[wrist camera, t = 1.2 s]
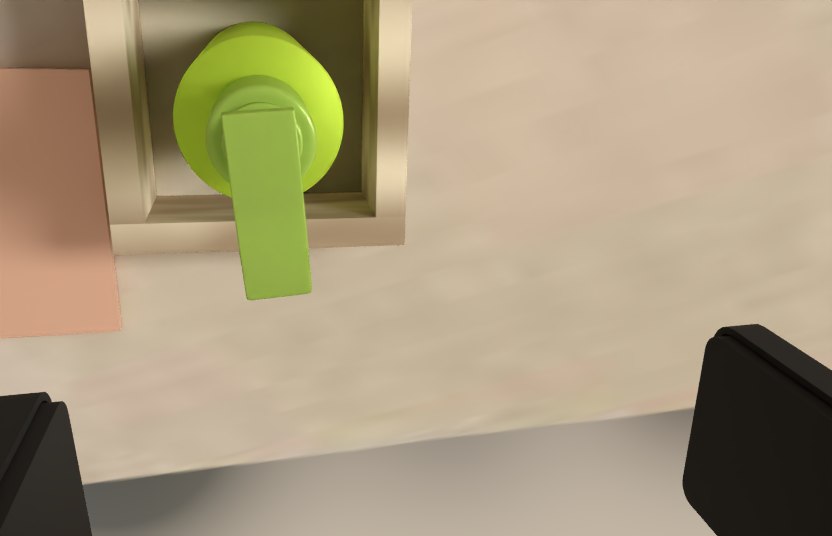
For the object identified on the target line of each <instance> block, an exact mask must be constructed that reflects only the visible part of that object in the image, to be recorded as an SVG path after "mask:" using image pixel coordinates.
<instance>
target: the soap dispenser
mask: <svg viewBox="0 0 832 536" xmlns="http://www.w3.org/2000/svg"><path fill="white" fill-rule="evenodd" d="M173 125H174V131H175V136H176V139H177V143H178V145H179V148H180V150H181V152H182V154H183V156H184V158H185V160H186V161H187V163H188V164H189V166H190V167H191V169H192V170H193V171H194V172H195V173H196V174H197V175H198V177H199V178H201V179H202V180H203V181H204V182H205V183H206V184H208V185H209V186H210V187H212V188H213V189H215V190H216V191H218V192H220V193H222V194H224V195H226V196H228V197H231V198H232V202H233V210H234V217H235V224H236V231H237V238H238V245H239V252H240V258H241V265H242V271H243V278H244V284H245V291H246V296H247V299H248V300H258V299H266V298H275V297H284V296H292V295H300V294H307V293H311V291H312V285H311V273H310V261H309V249H308V237H307V226H306V216H305V206H304V196H303V192H305V191H306V190H308V189H309V188H311V187H312V186H313V185H315V184H316V183H317V182H318V181H319V180H320V179H321V178H322V177H323V176H324V175H325V174H326V172H327V171H328V170H329V168H330V167H331V165H332V164H333V162H334V160H335V158H336V156H337V154H338V151H339V148H340V145H341V141H342V136H343V126H344V119H343V109H342V104H341V100H340V97H339V94H338V91H337V89H336V87H335V85H334V83H333V81H332V79H331V77H330V76H329V74H328V73H327V72H326V70H325V69H324V68H323V67H322V65H321V64H320V63H319V62H318V61H317V60H316V59H315V58H314V57H313V56H312V55H311V54H310V53H309V52H308V51H307V50H306V49H305V48H303V47H302V46H301V45H300V44H299V43H298V42H297V41H296V40H295V39H294V38H293V37H292V36H291V35H289V34H288V33H287V32H285V31H284V30H282V29H280V28H278V27H276V26H273V25H270V24H267V23H262V22H244V23H239V24H235V25H233V26H230V27H228V28H226V29H224V30H223V31H221V32H220V33H218V34H217V35H216V36H215V37H214V38H213V39H212V40H211V41H210V42H209V44H208V45H207V46H206V47H205V48H204V50H203V51H202V52H201V53H200V54H199V56H198V57H197V58H196V59H195V60H194V62H193V63H192V64H191V65H190V67H189V68H188V69H187V71H186V72H185V74H184V76H183V77H182V79H181V81H180V84H179V86H178V89H177V92H176V96H175V100H174V107H173Z"/></svg>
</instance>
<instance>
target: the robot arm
mask: <svg viewBox="0 0 832 536" xmlns="http://www.w3.org/2000/svg"><path fill="white" fill-rule="evenodd" d="M683 490H684V493H685V496H686V498H687V500H688V502H689V503H690V505H691V506H692V507H693V508H694V509H695V510H696V511H697V513H698V514H699V515H700V516H701V517H702V519H704V521H705V522H706V523H707V524H708V526H709V527H710V528H711V529H712V530H713V531H714V533H715V534H716V535H717V536H832V370H830V369H828V368H827V367H825V366H824V365H822V364H821V363H819V362H818V361H816V360H815V359H813V358H811V357H810V356H808V355H807V354H805V353H804V352H802V351H801V350H799V349H798V348H796V347H794V346H793V345H791V344H790V343H788V342H787V341H785V340H784V339H782V338H781V337H779V336H777V335H776V334H774V333H773V332H771V331H770V330H768V329H767V328H765V327H764V326H761V325H759V324H751V325H741V326H730V327H722V328H721V329H719V330H718V331H717V332H716V334H715V335H714V337H713V338H711V339H709V341H708V342H707V344H706V348H705V353H704V359H703V365H702V370H701V376H700V382H699V388H698V393H697V399H696V405H695V411H694V417H693V423H692V428H691V434H690V440H689V445H688V451H687V457H686V462H685V468H684V474H683ZM0 536H92V533H91V528H90V523H89V517H88V512H87V507H86V502H85V497H84V491H83V486H82V481H81V476H80V471H79V465H78V460H77V455H76V450H75V445H74V440H73V434H72V429H71V424H70V419H69V414H68V410H67V406H66V404H65V403H64V402H63V401H61V402H52V401H51V399H50V397H49V395H48V394H47V393H46V392H39V393H29V394H18V395H8V396H0Z"/></svg>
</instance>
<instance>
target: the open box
mask: <svg viewBox="0 0 832 536" xmlns="http://www.w3.org/2000/svg"><path fill="white" fill-rule="evenodd" d="M83 5H84V14H85V22H86V30H87V39H88V47H89V55H90V64H91V72H92V80H93V89H94V97H95V105H96V113H97V122H98V130H99V138H100V147H101V155H102V163H103V172H104V180H105V188H106V197H107V205H108V213H109V222H110V230H111V238H112V247H113V255H132V254H160V253H188V252H216V251H239V245H238V238H237V231H236V224H235V217H234V210H233V202H232V198H231V197H228V196H226V195H193V196H157V194H156V183H155V173H154V162H153V152H152V141H151V131H150V120H149V109H148V99H147V88H146V78H145V67H144V57H143V46H142V35H141V25H140V14H139V4H138V0H83ZM411 24H412V0H363V99H362V192H348V193H303V196H304V206H305V216H306V226H307V237H308V248H328V247H356V246H384V245H404V240H405V209H406V178H407V147H408V117H409V86H410V55H411Z"/></svg>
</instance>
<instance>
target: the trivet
mask: <svg viewBox="0 0 832 536" xmlns="http://www.w3.org/2000/svg"><path fill="white" fill-rule="evenodd" d="M121 328H122V322H121V313H120V305H119V297H118V288H117V280H116V272H115V263H114V255H113V247H112V238H111V230H110V222H109V213H108V205H107V197H106V188H105V180H104V172H103V163H102V155H101V147H100V138H99V130H98V122H97V114H96V105H95V97H94V89H93V80H92V72H91V69H45V68H0V338H10V337H28V336H45V335H63V334H80V333H98V332H115V331H121Z"/></svg>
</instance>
